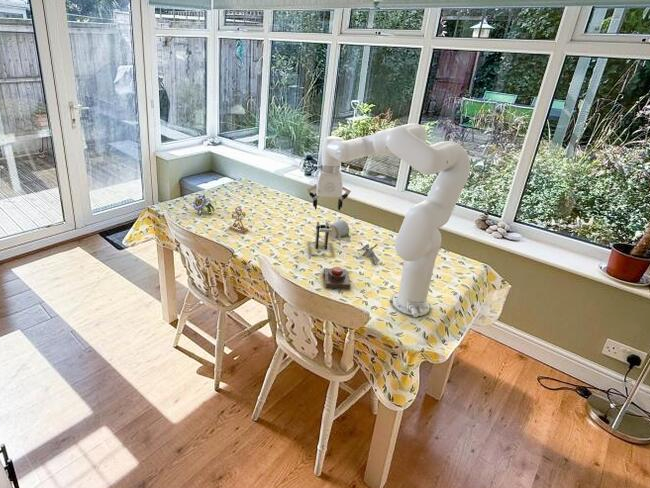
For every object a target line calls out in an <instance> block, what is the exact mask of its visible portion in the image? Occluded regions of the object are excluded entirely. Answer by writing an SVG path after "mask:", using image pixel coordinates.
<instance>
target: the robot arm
mask: <svg viewBox="0 0 650 488" xmlns="http://www.w3.org/2000/svg"><path fill="white" fill-rule="evenodd" d="M427 138H428V132H427V130H426V128H425V126H423V125H421V124H419V123H415V122H414V123H413V122H412V123H407V124H402V125H397V126H394V127H391V128H386V129H383V130H377V131H376V132H375V133H372V134H369V135H364V136H359V137H356V138H352V139H347V140H343V138H342V137H340V136H337V135H328V136H325V137H324V139H323V141H322V151H321V162H320V164H317V167H316V168H317V169H319V171H318V175H317V179H316V183H315V184H313V185H311V186H309V187H307V188H306V190H307V193H308V194H309V196H310V197H311V198H312V199H313V201H312V207H314V210H317V209H318V198H319V197H320V198H338V201H337V210H338V211H341V208H343V204H344V203H343V202H344V201H345V199H347V198H348V196H349V195H350V194H351V192H352V191H351V189H350V188H348V187H346V186H344V184H343V182H344V180H343V171H342V170H341V168H342V163H346V162H350V161H353V160H357V159H362V158H364V157H369V156H374V155H379V156H388V155H394V156H396V157H397V158H398V159H400V160H401V161H403V162H404V163H406V164H407V165H409V166H410V167H411V168H413V169H414V170H416V171H417V172H419V173H421V174H424V175H435V174H438V175H437V176H436V178H435V179H434V181H433V183H432V184H431V186H430V190H429V192H428V194H427V196H426V198H425V199H424V200H423V201H421V202H419V203H417V204H415V205H413V206H412V207H411V208H410V209H409V210H408V211H407V213H406V214H405V216H404V219H403V220H402V223H401V226H400V228H399V231H398V232H397V235H396V237H395V241H394V249H395V253H396V254H397V256H398V257H399V258H400V259H401V260H403V266H402V271H401V277H400V282H399V287H398V293H396V294H394V296H393V297H392V305H393V306H394V307H395V309H396V310H398V311H399V312H401V313H403V314H405V315H409V316H413V318H417V317H421V316H425V315H427V314H428V313H429V312H430V307H431V305H430V304H429V302H428V301H427V300H428V295H429V290H430V285H431V282H432V276H433V272H434V268H435V264H436V260H437V257H438V254H439V252H440V249H441V247H442V241H443V239H442V234H441V231H440V230H439V228H441V227H444V226H445V225H446V224H447V223H448V222H449V220H450V218H451V216H452V214H453V211H454V210H455V207H456V205H457V203H458V201H459V199H460V196H461V194H462V192H463V191H464V188H465V185H466V183H467V181H468V179H469V176H470V171H471V160H470V156H469V154H468V153H467V151H466V149H465V148H464V147H463V146H462V144H459V143H458V142H456V141H452V140H445V141H439V142H436V143H433V144H428V143H427ZM314 190H315V193H313V191H314ZM343 191H344V192H345V193H343Z"/></svg>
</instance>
